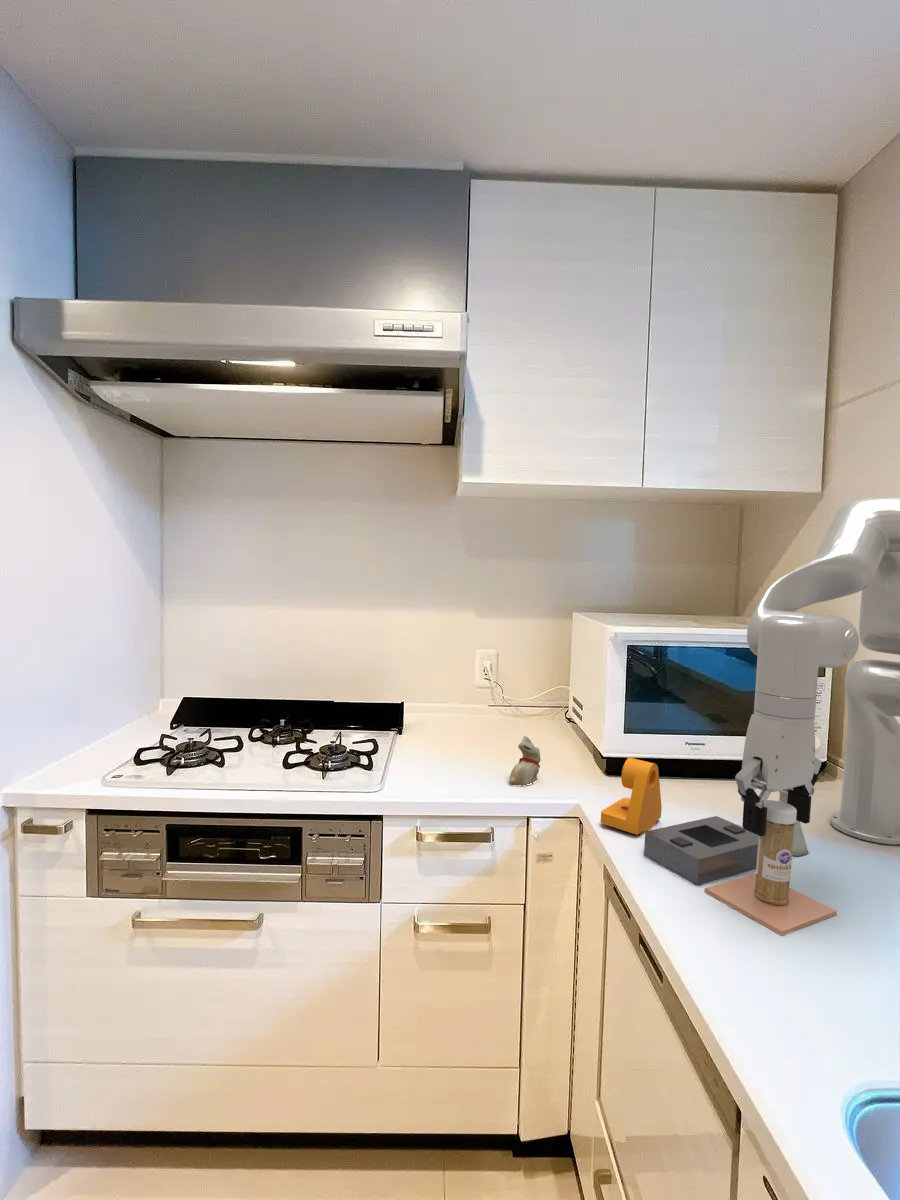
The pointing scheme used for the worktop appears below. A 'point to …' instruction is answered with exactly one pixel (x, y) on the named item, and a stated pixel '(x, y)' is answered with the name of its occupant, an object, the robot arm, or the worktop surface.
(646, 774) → the bracket
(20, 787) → the worktop surface
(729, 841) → the socket bar
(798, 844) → the flask
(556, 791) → the worktop surface
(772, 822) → the sprinkles bottle
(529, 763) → the chocolate bunny
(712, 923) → the worktop surface
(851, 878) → the worktop surface
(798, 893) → the coaster
